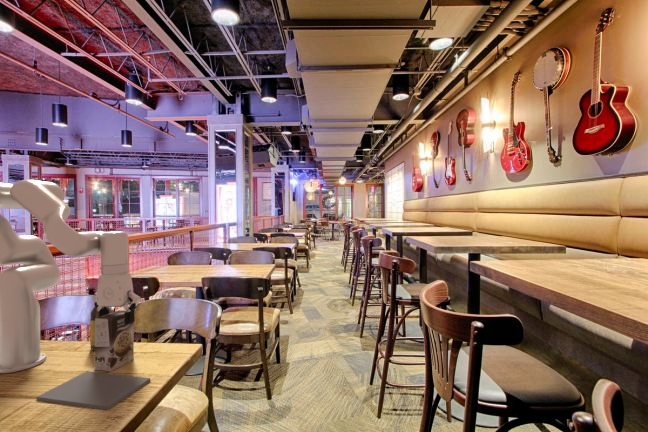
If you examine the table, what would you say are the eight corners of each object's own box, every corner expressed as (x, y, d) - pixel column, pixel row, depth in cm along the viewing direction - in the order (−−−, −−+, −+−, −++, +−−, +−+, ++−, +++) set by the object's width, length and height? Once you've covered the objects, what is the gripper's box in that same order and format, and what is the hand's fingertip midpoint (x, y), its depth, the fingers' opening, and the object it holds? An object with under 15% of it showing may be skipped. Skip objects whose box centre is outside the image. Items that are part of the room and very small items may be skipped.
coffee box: (111, 371, 97) (111, 319, 97) (93, 370, 98) (93, 317, 98) (134, 358, 106) (134, 310, 106) (118, 357, 107) (118, 309, 107)
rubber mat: (36, 400, 82) (36, 396, 82) (87, 373, 96) (87, 371, 96) (108, 409, 78) (108, 406, 78) (150, 380, 91) (150, 378, 91)
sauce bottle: (110, 349, 114) (110, 293, 114) (89, 352, 111) (88, 295, 111) (112, 343, 119) (111, 290, 120) (91, 346, 116) (91, 292, 116)
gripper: (82, 271, 100) (83, 326, 100) (128, 271, 97) (130, 328, 97) (103, 267, 108) (104, 318, 108) (147, 267, 104) (148, 320, 104)
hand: (116, 323), depth 102 cm, fingers open, 9 cm apart
